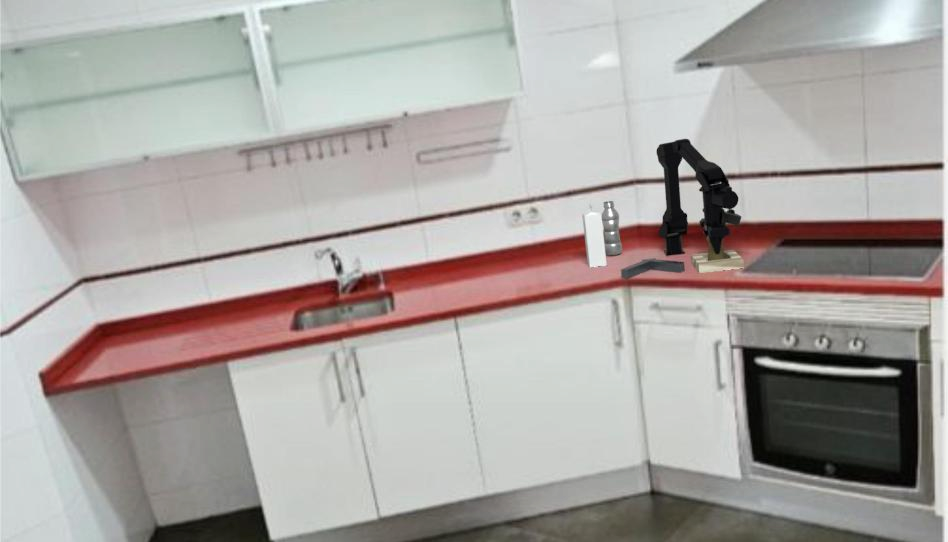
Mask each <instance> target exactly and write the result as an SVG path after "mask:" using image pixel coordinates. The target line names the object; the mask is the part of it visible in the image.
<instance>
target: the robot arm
mask: <svg viewBox="0 0 948 542" xmlns="http://www.w3.org/2000/svg"><path fill="white" fill-rule="evenodd" d="M656 156H657V159H658V160H657V161H658V163H659V165H661V167H662V168H663V176H664V177H663V179H664V192H665V206H666V207H665V208H666V209H665V211H664V213H663V215H662V223H661V226H660V227H659V230H658V231H657V232H658V237H659V238H661V239H664V241H665V242H664V243H665V250H664V251H663V252H664V254H665V255H666V256H672V255H673V256H674V255H680V254H681V255H682V254H685V253H686V252H685V250H684V249H683V241H682V239H683V238H682V236H687V233H688V228H689V227H688V225H689V221H688V214H687V212H685V211H684V210H683V209H682V204H681V190H680V189H681V188H680V177H679V176H680V175H679V167H680V165H681V162H682V161H683V160H684V161H685V162H686V163H687V164H688V165H689V167H690V168H692V170H693V171H694V172H695V177H694V178H695V179H696V180H697V182H698V183H699V185H701V187H700V188H699V189H698V191H699V192H701V193H702V203H703V204H702V205H703V208H702V212H703V218H701V219H700V220H699V228H701V229H702V232H703V234H704V236H705V238H706V239H707V236H708V238H709V241H710V243H711V245H712V247H713V249H714V251H715V253H716V254H719V253H720V248H721V243H722V244H723V242H722V239H723V240H724V238H726V237H727V236H730V235H731V230H730V228H729V227H728V226H727V224H730V225H734V226H736V227H739V226H740V223H741V220H742V216H741V215H740V214H738V213H736V210H734V208H735V207H736V206H737V205H738V203H739V196H738V193H736V192H735V190H734V191H733V188H732V186H731V185H730V183H729V179H728V178H727V177H726V175H725V173H724V171H723V169H722V167H721V166H720V165H718V164H716V163H715V162H713V161H709V160H707V159H706V158H705V156H703V155H702V154H701V153H700V152H699V150H697V149H696V148H695V147H694V146H693V145H692V142H691V141H690V139H688V138H681V139H676V140H674V141H671V142H666V143H660V144H659V145H658V146H657V148H656ZM725 210H727V211H725Z"/></svg>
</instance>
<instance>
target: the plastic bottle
mask: <svg viewBox="0 0 948 542" xmlns="http://www.w3.org/2000/svg"><path fill="white" fill-rule="evenodd" d="M614 207H615V201H612V200H608V201H604V202H603V211H602V213H601V216H602V226H603V235H604V245H605V254H606V256H617V255H620V254H622V251H623V245H622V242H621V237H620V227H619V225H620V214H619V212H618V210H616V209H615V208H614Z"/></svg>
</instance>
